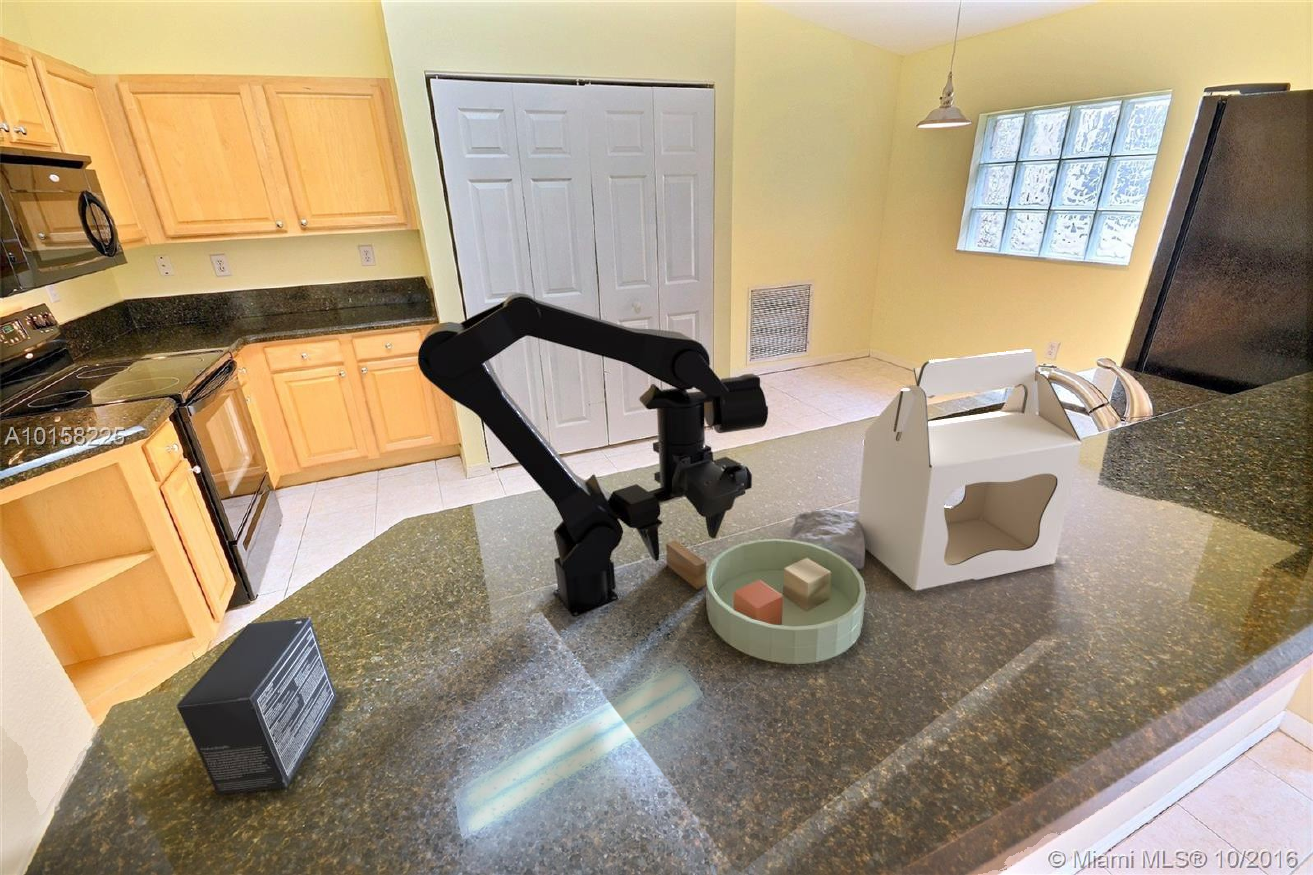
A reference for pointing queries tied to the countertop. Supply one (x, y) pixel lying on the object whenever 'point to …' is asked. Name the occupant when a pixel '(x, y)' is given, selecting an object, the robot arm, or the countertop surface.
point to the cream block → (806, 584)
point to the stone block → (832, 533)
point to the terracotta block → (759, 603)
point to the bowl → (785, 603)
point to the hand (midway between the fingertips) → (684, 548)
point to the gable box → (968, 475)
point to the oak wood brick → (686, 564)
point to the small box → (260, 706)
